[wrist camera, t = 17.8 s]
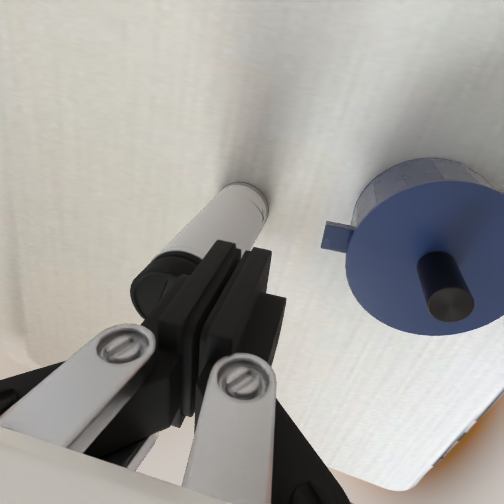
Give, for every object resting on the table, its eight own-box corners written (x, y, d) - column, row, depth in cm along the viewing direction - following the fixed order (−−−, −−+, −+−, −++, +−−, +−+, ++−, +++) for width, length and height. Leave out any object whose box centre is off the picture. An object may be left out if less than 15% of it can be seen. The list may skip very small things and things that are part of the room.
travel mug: (279, 196, 41) (223, 299, 23) (254, 241, 44) (189, 360, 27) (230, 169, 40) (138, 252, 23) (208, 216, 44) (115, 319, 27)
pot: (342, 142, 36) (339, 164, 29) (552, 175, 33) (607, 210, 26) (316, 259, 43) (308, 301, 36) (489, 296, 40) (519, 349, 33)
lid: (369, 161, 29) (372, 188, 23) (573, 195, 27) (632, 234, 21) (330, 307, 36) (326, 354, 30) (488, 343, 34) (515, 402, 28)
